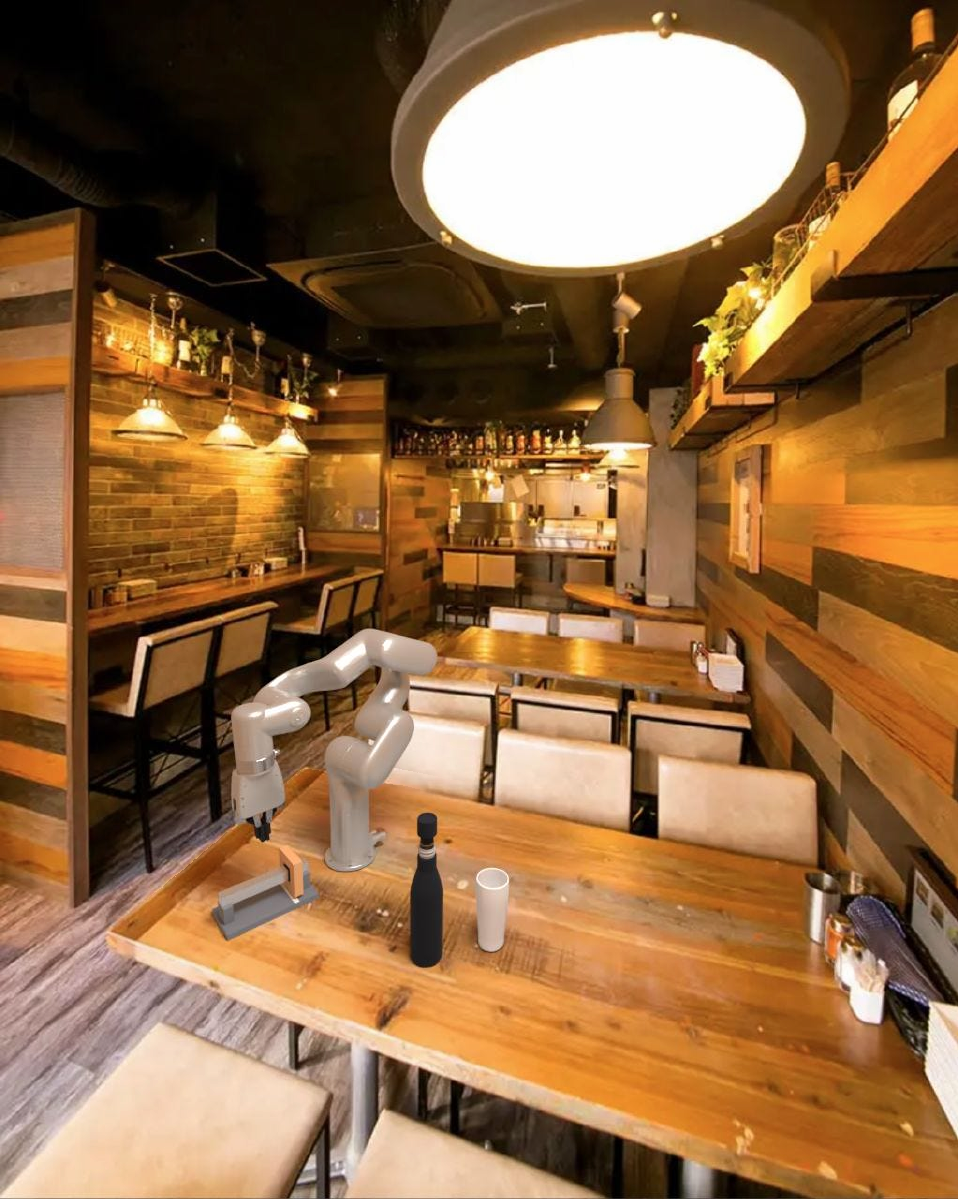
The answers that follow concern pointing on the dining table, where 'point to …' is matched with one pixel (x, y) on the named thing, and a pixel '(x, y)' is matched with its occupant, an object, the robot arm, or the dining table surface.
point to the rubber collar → (292, 870)
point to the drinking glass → (491, 907)
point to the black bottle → (426, 898)
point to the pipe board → (261, 908)
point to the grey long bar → (257, 885)
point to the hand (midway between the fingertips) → (263, 838)
